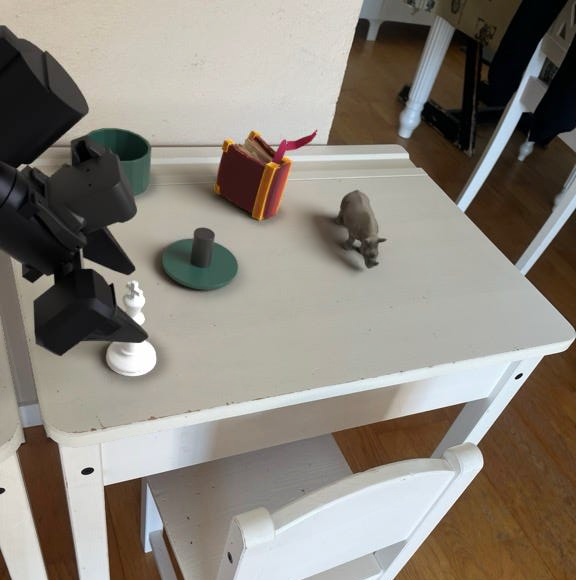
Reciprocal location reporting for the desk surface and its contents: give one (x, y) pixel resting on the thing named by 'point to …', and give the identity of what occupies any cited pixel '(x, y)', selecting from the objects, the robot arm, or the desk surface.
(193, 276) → the pot lid
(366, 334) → the desk surface
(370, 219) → the rhino figurine
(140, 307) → the chess piece
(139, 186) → the pot
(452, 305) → the desk surface
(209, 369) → the desk surface
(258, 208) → the book monster
